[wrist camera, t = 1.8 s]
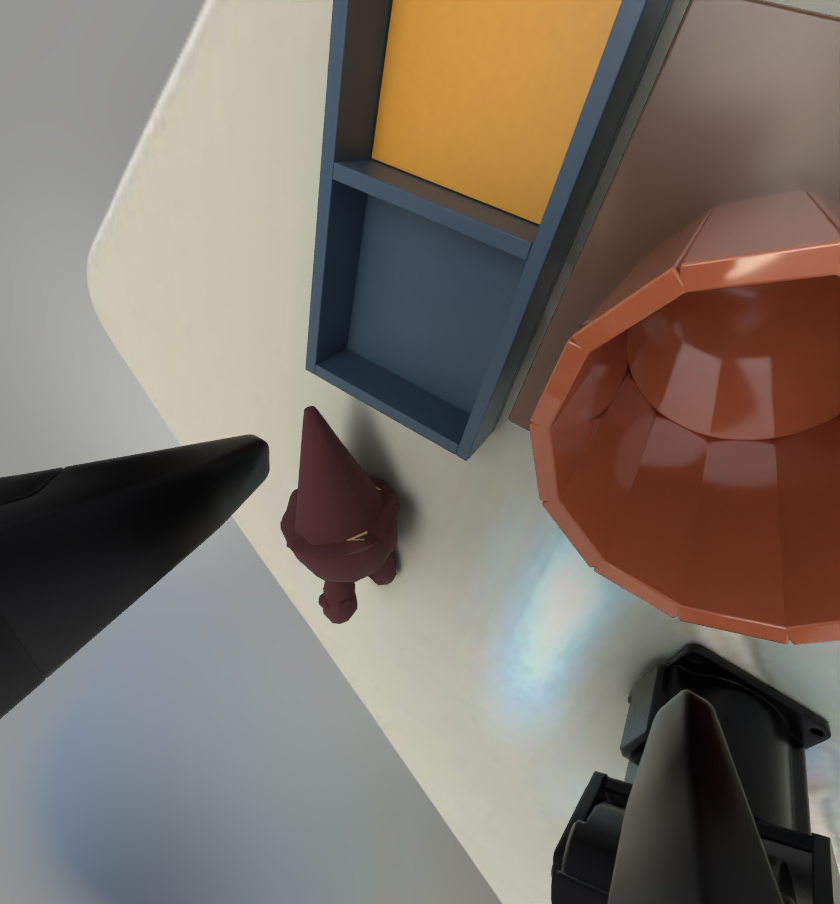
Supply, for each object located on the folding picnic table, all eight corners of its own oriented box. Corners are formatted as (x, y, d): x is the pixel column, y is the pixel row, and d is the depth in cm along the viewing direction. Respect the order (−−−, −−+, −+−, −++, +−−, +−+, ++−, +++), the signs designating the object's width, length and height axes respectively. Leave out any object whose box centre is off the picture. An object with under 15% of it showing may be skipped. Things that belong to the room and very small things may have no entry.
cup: (1021, 256, 10) (1352, 407, 4) (787, 481, 14) (806, 698, 9) (699, 153, 11) (647, 169, 6) (579, 380, 16) (487, 509, 10)
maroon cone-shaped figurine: (211, 417, 24) (293, 602, 33) (288, 470, 19) (360, 669, 28) (322, 364, 28) (369, 543, 36) (409, 398, 23) (439, 594, 32)
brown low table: (1167, 127, 10) (1325, 124, 7) (778, 498, 18) (782, 566, 15) (709, 17, 13) (696, -16, 10) (541, 380, 21) (507, 420, 18)
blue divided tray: (730, -134, 12) (723, -194, 9) (493, 431, 23) (466, 461, 21) (411, -182, 14) (350, -240, 12) (342, 350, 26) (305, 369, 24)
